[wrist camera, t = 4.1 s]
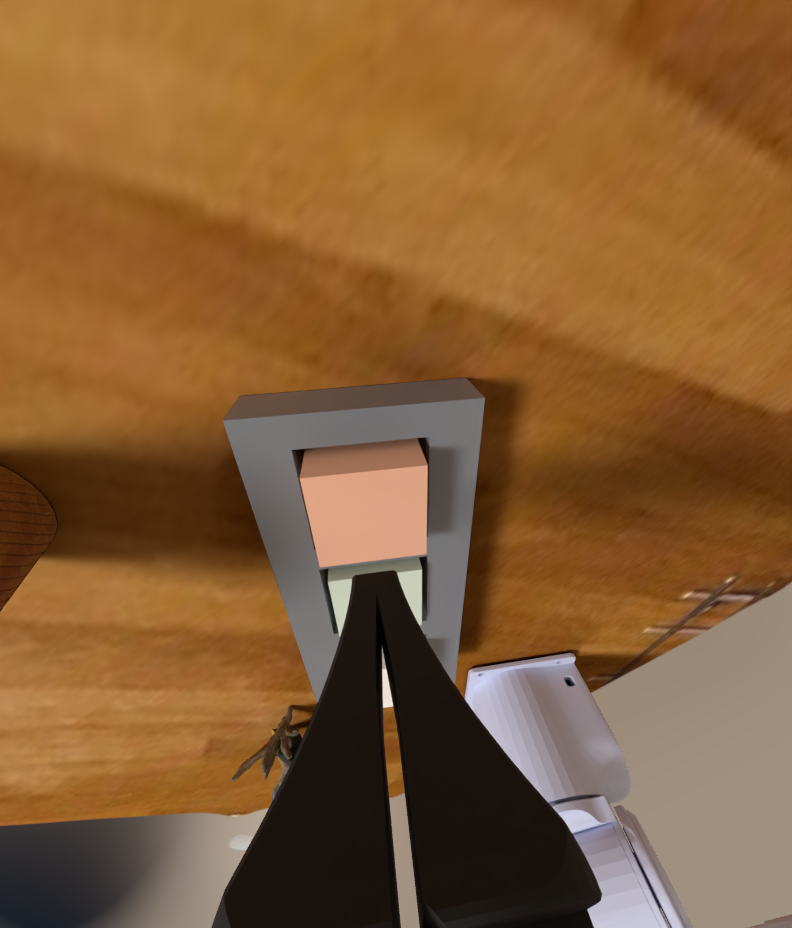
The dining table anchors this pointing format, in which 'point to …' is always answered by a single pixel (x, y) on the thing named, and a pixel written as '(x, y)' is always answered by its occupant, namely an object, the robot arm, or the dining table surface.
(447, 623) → the key frame
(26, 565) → the disposable coffee cup
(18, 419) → the dining table surface
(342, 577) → the sage key
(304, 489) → the terracotta key
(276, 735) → the eagle figurine
